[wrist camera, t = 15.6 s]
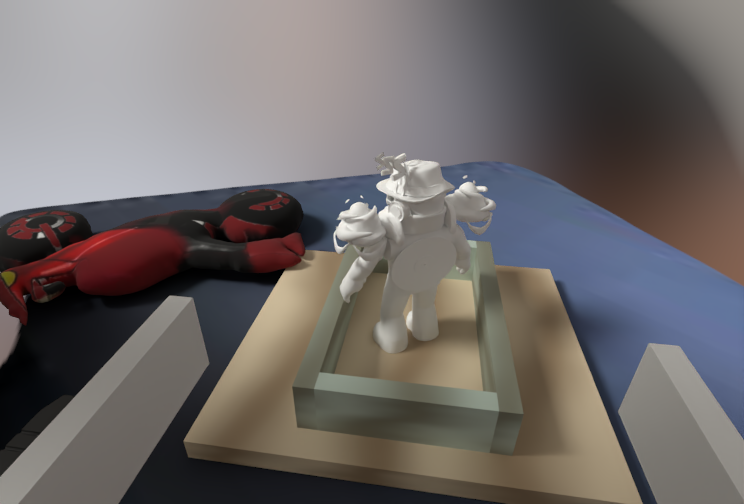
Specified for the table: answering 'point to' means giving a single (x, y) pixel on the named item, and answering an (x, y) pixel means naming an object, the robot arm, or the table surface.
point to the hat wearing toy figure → (411, 244)
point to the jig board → (419, 390)
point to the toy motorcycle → (145, 248)
